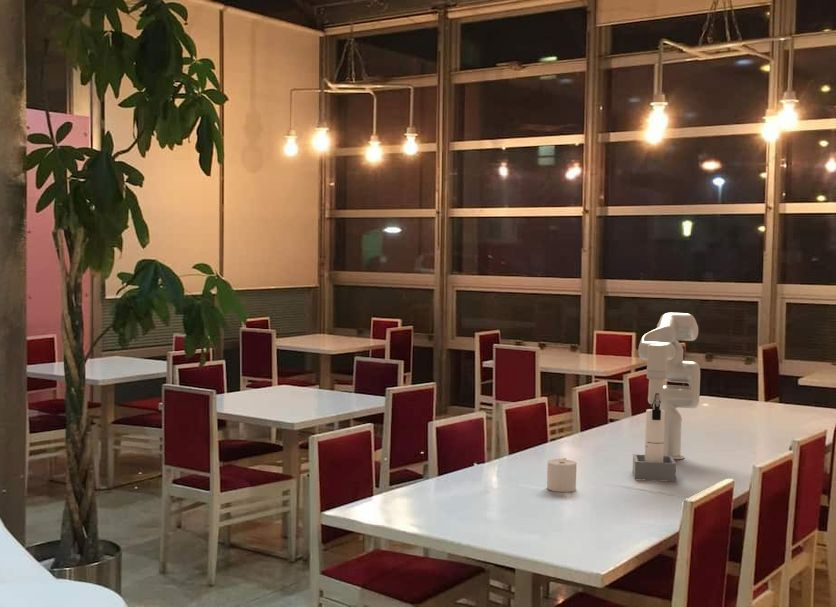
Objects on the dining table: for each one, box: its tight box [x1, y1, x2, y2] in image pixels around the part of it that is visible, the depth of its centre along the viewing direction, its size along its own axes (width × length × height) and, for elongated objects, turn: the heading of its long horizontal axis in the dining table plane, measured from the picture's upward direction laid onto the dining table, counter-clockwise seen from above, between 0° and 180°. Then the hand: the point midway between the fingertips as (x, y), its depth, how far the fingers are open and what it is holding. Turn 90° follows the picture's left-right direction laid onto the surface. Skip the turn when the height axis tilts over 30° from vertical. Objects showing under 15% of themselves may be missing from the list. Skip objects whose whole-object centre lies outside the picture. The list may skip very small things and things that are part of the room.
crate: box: [632, 453, 677, 482], centre depth 377 cm, size 15×15×7 cm
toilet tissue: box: [546, 457, 578, 493], centre depth 353 cm, size 11×12×10 cm
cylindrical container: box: [644, 408, 665, 463], centre depth 377 cm, size 7×7×25 cm
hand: (655, 418), depth 376 cm, fingers open, 9 cm apart
